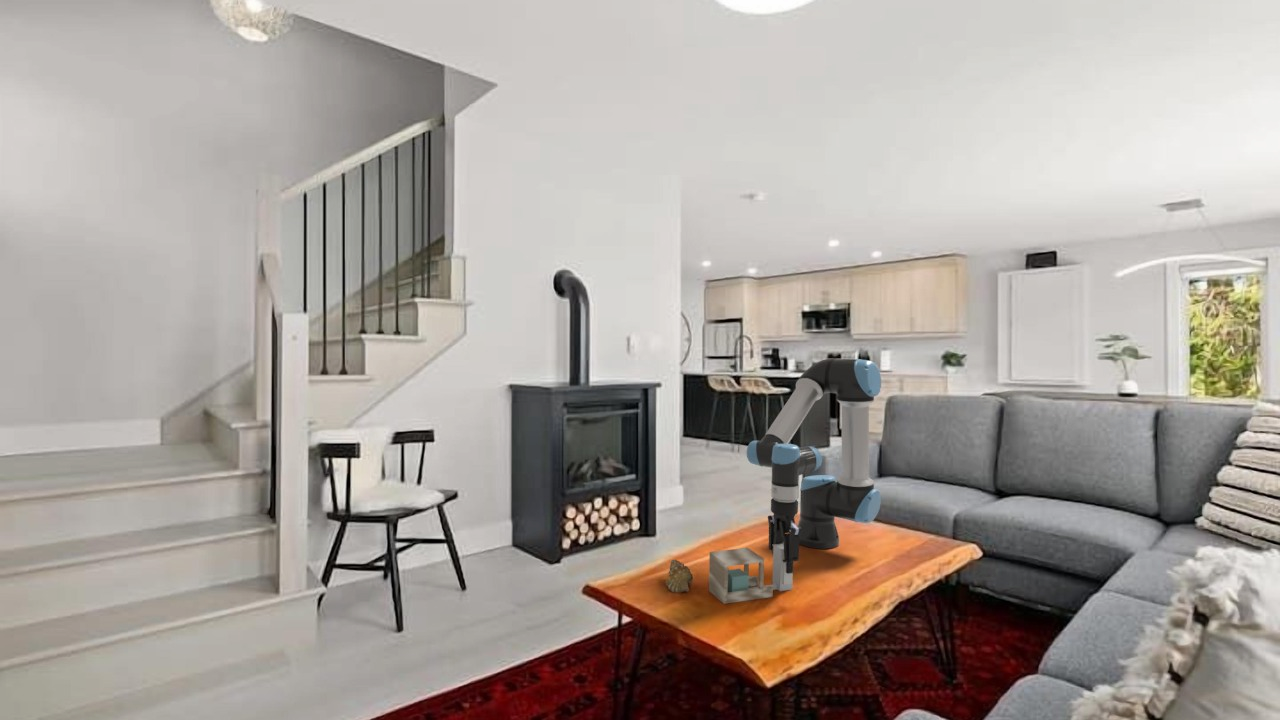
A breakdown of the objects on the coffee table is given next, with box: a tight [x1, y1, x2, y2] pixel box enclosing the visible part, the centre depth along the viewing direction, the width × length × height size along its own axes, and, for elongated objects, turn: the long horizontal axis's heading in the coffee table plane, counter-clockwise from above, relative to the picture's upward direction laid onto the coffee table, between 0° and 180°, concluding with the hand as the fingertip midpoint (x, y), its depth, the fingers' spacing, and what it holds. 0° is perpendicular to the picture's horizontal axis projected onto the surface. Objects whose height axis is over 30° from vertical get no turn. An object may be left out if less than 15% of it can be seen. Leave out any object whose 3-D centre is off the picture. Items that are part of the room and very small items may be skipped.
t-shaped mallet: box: [727, 544, 794, 592], centre depth 172 cm, size 20×5×12 cm, turn 110°
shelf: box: [708, 547, 774, 605], centre depth 170 cm, size 15×9×11 cm, turn 110°
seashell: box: [665, 559, 694, 594], centre depth 176 cm, size 9×8×10 cm
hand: (782, 580), depth 175 cm, fingers closed on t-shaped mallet, 4 cm apart
